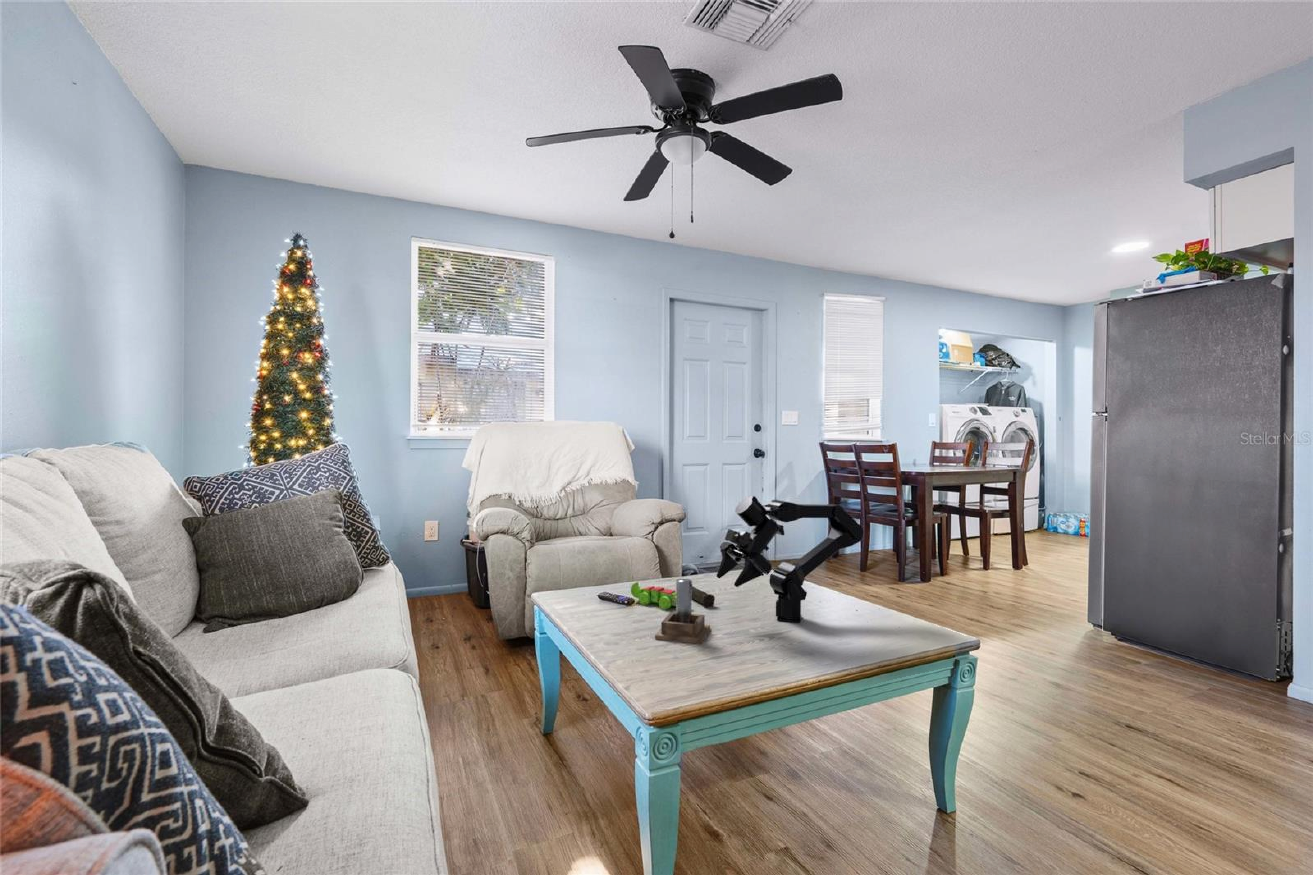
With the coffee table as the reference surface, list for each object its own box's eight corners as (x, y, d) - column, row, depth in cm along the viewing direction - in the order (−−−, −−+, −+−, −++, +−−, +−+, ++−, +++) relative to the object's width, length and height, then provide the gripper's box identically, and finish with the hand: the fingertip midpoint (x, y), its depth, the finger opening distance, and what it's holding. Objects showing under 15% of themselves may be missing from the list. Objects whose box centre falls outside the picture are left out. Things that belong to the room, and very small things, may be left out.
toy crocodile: (692, 608, 181) (692, 588, 181) (680, 613, 175) (680, 593, 175) (640, 597, 192) (640, 578, 192) (627, 602, 187) (627, 582, 187)
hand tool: (715, 607, 182) (715, 592, 182) (703, 608, 181) (703, 593, 181) (688, 592, 200) (688, 578, 200) (677, 593, 198) (677, 579, 198)
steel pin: (694, 629, 158) (694, 580, 157) (685, 633, 154) (686, 583, 154) (681, 626, 160) (681, 578, 160) (673, 630, 157) (673, 580, 157)
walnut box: (710, 628, 161) (710, 613, 161) (701, 643, 150) (701, 627, 150) (667, 624, 165) (667, 610, 165) (655, 639, 153) (655, 623, 153)
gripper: (724, 513, 172) (691, 555, 168) (762, 524, 155) (725, 571, 151) (748, 538, 176) (716, 580, 172) (787, 551, 159) (752, 597, 155)
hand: (726, 581), depth 162 cm, fingers open, 9 cm apart
